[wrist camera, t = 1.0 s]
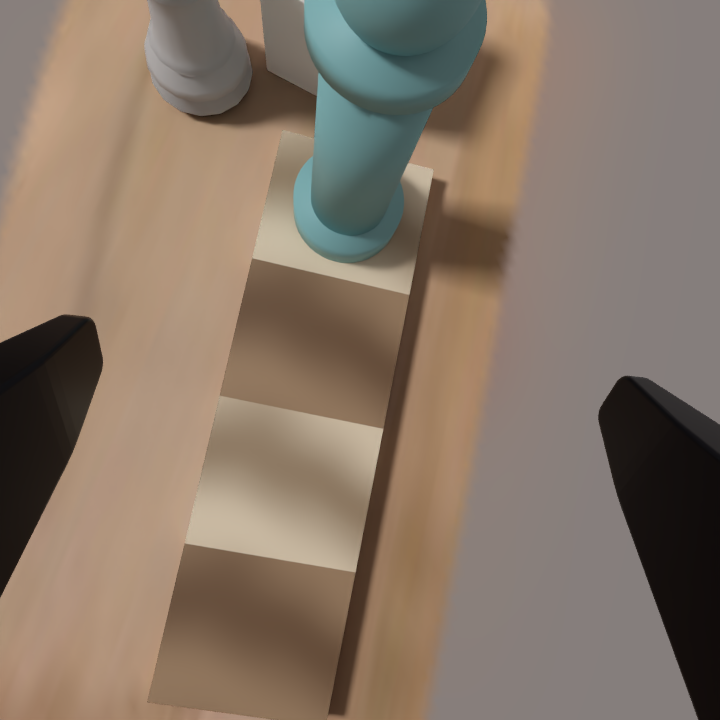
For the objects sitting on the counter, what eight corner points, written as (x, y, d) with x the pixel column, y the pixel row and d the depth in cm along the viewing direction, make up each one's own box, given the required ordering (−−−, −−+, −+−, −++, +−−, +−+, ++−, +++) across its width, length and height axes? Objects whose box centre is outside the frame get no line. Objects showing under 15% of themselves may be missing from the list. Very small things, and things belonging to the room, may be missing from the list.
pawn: (358, 283, 21) (469, 58, 8) (272, 220, 21) (226, -130, 7) (416, 204, 22) (615, -135, 8) (334, 142, 22) (398, -310, 8)
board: (324, 714, 20) (325, 726, 20) (153, 690, 20) (146, 702, 19) (428, 177, 23) (433, 169, 22) (283, 139, 22) (282, 129, 22)
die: (362, 121, 23) (380, 43, 18) (266, 70, 23) (256, -24, 18) (407, 36, 24) (435, -62, 19) (313, -15, 24) (317, -128, 19)
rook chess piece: (231, 18, 23) (196, -188, 15) (268, 105, 23) (252, -58, 15) (137, 45, 22) (48, -156, 14) (174, 135, 22) (104, -20, 14)
